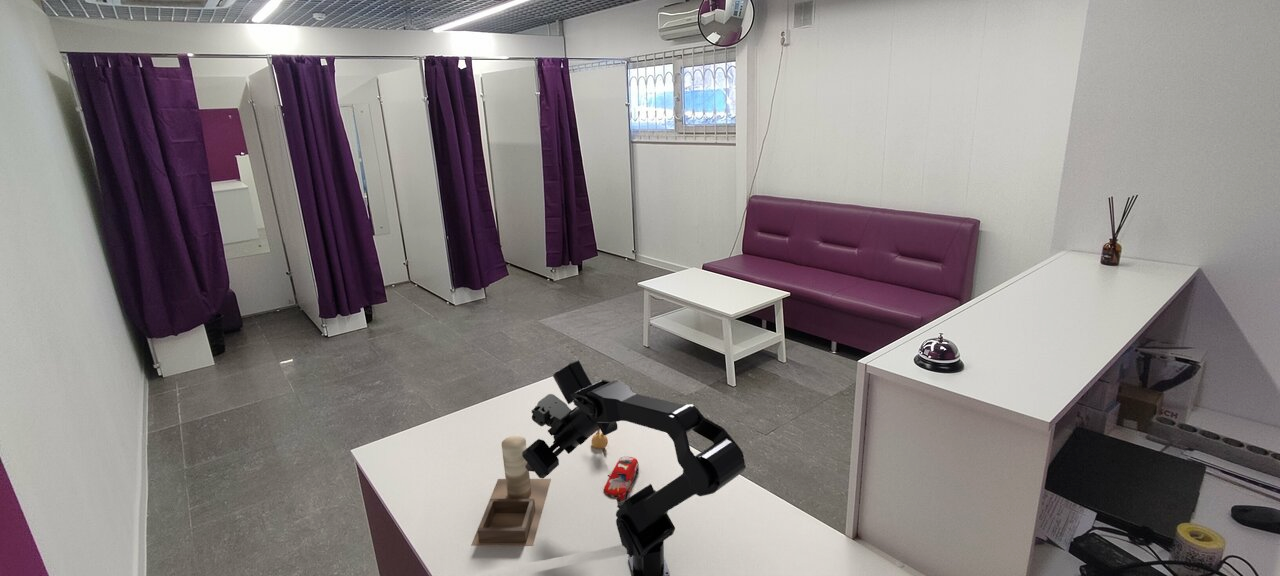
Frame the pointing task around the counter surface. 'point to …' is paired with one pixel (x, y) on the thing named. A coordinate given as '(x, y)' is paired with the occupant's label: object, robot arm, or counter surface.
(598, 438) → the figurine
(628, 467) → the race car
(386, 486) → the counter surface
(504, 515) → the jig board
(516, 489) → the post
